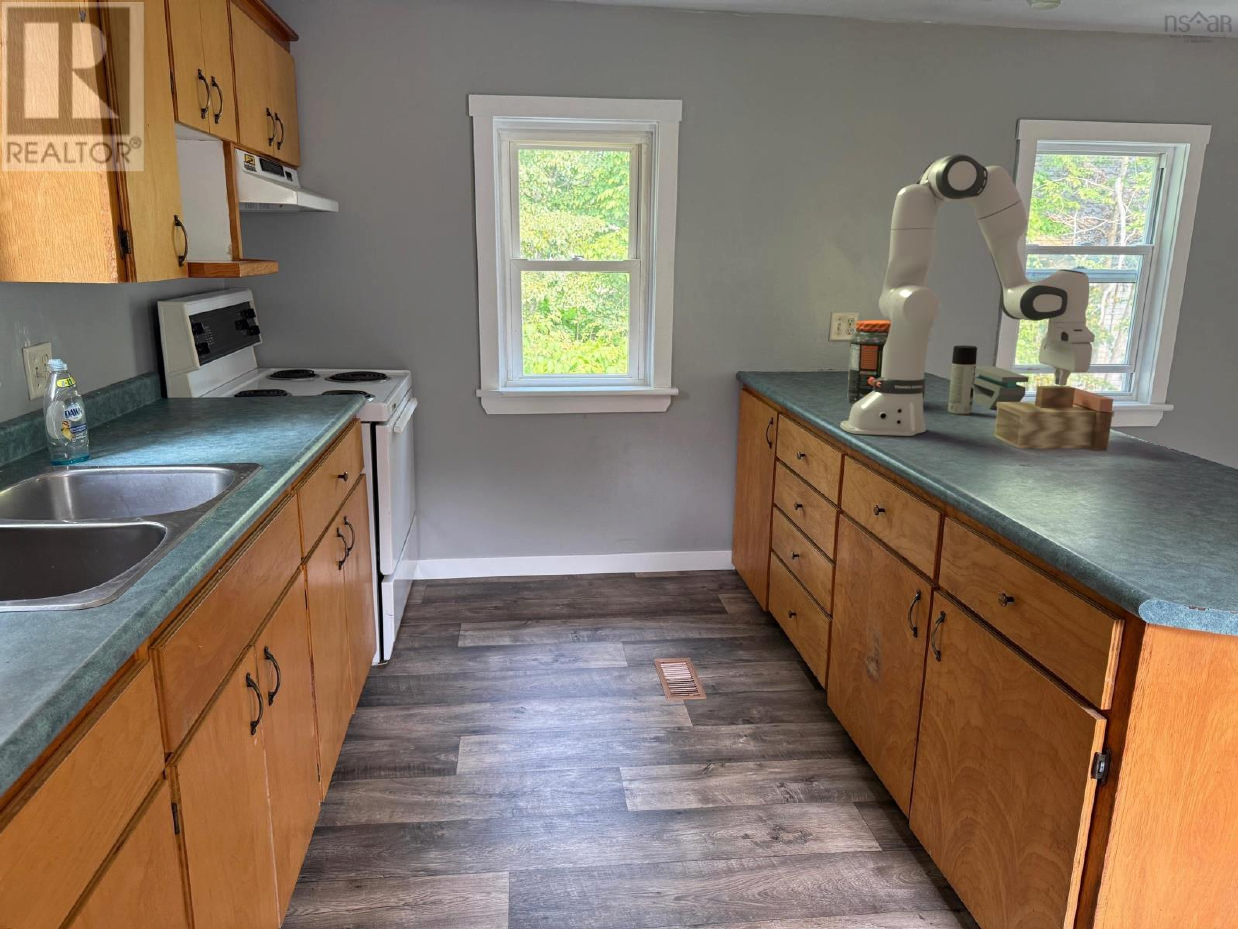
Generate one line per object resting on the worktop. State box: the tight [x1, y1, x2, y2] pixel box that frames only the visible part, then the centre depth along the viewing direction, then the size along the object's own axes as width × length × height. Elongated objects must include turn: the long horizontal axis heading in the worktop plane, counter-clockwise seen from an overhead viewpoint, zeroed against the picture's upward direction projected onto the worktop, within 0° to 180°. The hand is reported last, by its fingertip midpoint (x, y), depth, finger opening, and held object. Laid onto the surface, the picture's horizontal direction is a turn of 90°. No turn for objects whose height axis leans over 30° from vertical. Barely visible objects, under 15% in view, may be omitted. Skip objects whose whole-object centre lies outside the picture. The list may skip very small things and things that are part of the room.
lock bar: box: [1073, 387, 1114, 412], centre depth 213 cm, size 3×18×3 cm, turn 0°
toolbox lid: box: [996, 385, 1115, 418], centre depth 213 cm, size 22×14×8 cm, turn 90°
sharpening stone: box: [973, 365, 1030, 410], centre depth 266 cm, size 25×8×11 cm, turn 0°
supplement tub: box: [847, 319, 891, 404], centre depth 271 cm, size 16×16×26 cm
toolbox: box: [993, 407, 1113, 451], centre depth 214 cm, size 22×19×9 cm
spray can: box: [947, 345, 978, 415], centre depth 253 cm, size 7×7×20 cm
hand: (1060, 384), depth 226 cm, fingers closed
